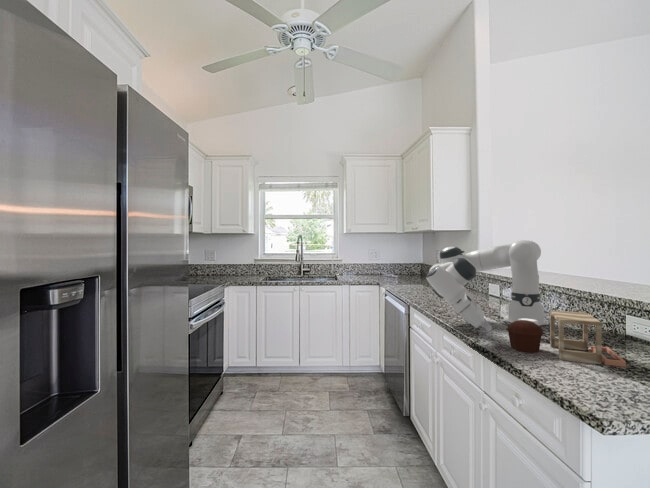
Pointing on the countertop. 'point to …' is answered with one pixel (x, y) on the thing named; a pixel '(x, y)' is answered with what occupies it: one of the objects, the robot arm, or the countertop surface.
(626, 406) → the countertop surface
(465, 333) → the countertop surface
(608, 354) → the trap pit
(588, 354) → the tunnel
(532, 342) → the muffin
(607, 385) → the countertop surface
